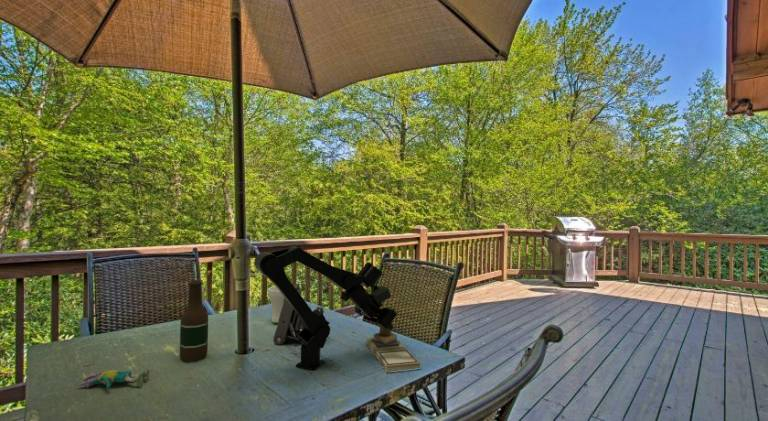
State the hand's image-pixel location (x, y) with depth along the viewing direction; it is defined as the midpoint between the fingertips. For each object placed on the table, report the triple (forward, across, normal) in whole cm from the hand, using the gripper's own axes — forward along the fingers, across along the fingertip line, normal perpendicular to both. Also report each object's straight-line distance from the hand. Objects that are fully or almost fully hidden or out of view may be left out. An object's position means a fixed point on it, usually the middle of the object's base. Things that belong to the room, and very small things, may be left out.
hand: (388, 326), depth 129 cm
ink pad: (+3, 0, +5) cm, 5 cm away
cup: (-11, +45, +22) cm, 51 cm away
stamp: (+2, 0, +4) cm, 5 cm away
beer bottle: (-36, +23, +46) cm, 62 cm away
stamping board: (+3, -6, +7) cm, 10 cm away
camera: (-11, +22, +22) cm, 33 cm away
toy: (-49, +14, +60) cm, 79 cm away
